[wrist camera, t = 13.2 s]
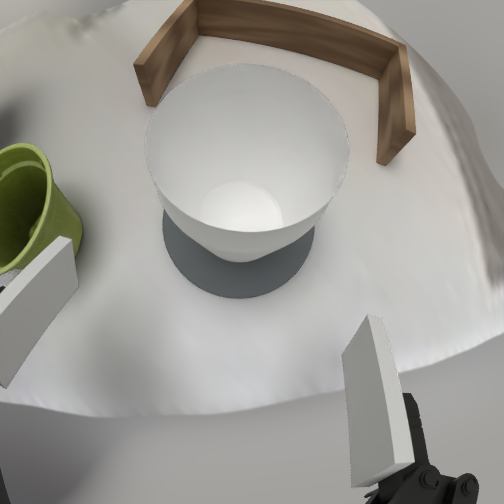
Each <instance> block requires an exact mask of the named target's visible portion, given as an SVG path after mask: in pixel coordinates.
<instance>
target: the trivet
mask: <svg viewBox="0 0 504 504" xmlns="http://www.w3.org/2000/svg"><path fill="white" fill-rule="evenodd" d="M163 236H164V241H165V245H166V248H167V251H168V253H169V255H170V257H171V259H172V261H173V262H174V264H175V265H176V267H177V268H178V269H179V270H180V272H181V273H182V274H183V275H184V276H185V277H186V278H187V279H188V280H190V281H191V282H192V283H193V284H195V285H196V286H198V287H199V288H201V289H203V290H205V291H207V292H209V293H212V294H215V295H218V296H223V297H228V298H250V297H255V296H259V295H262V294H265V293H268V292H270V291H272V290H274V289H276V288H278V287H280V286H281V285H282V284H284V283H285V282H287V281H288V280H289V279H290V278H291V277H292V276H293V275H295V274H296V272H297V271H298V270H299V269H300V267H301V266H302V265H303V263H304V261H305V260H306V258H307V256H308V253H309V251H310V249H311V245H312V242H313V236H314V226H313V227H312V228H311V229H310V230H309V231H308V232H306V233H305V234H304V235H303V236H301V237H300V238H299V239H297V240H296V241H294V242H293V243H291V244H289V245H287V246H285V247H283V248H281V249H278V250H276V251H274V252H272V253H270V254H267V255H265V256H263V257H261V258H258V259H256V260H253V261H249V262H231V261H227V260H224V259H222V258H220V257H218V256H216V255H215V254H213V253H212V252H210V251H209V250H207V249H206V248H204V247H203V246H202V245H200V244H199V243H197V242H196V241H195V240H193V239H192V238H190V237H189V236H188V235H186V234H185V233H184V232H183V231H182V230H181V229H180V228H179V227H178V226H177V225H176V224H175V223H174V222H173V221H172V219H171V218H170V217H169V215H168V214H167V212H166V211H165V209H164V214H163Z"/></svg>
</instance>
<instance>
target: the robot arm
mask: <svg viewBox="0 0 504 504" xmlns="http://www.w3.org/2000/svg"><path fill="white" fill-rule="evenodd" d="M78 287H79V284H78V279H77V272H76V266H75V259H74V252H73V244H72V239H69V238H65V237H62V236H59V237H58V238H56V239H55V240H54V241H53V242H52V243H51V244H50V245H49V246H48V247H46V248H45V249H44V250H43V251H42V252H41V253H40V254H39V255H38V256H37V257H36V258H35V259H34V260H33V261H32V262H31V263H30V264H29V265H27V266H26V267H25V268H24V269H23V270H22V271H21V272H20V273H19V274H18V275H17V276H16V277H15V279H14V280H13V281H12V282H11V283H10V284H9V285H8V286H7V287H4V286H2V287H0V386H2V387H3V388H5V389H7V387H8V386H9V384H10V382H11V381H12V379H13V378H14V376H15V374H16V373H17V371H18V370H19V368H20V367H21V365H22V364H23V362H24V361H25V359H26V358H27V356H28V355H29V353H30V352H31V350H32V349H33V347H34V346H35V344H36V343H37V342H38V340H39V339H40V337H41V336H42V335H43V333H44V332H45V330H46V329H47V328H48V326H49V325H50V324H51V322H52V321H53V320H54V318H55V317H56V316H57V314H58V313H59V312H60V310H61V309H62V308H63V306H64V305H65V304H66V303H67V301H68V300H69V299H70V297H71V296H72V295H73V294H74V292H75V291H76V290H77V289H78ZM342 362H343V371H344V381H345V391H346V402H347V414H348V427H349V442H350V464H351V487H370V486H371V485H374V484H376V483H378V487H379V488H378V489H376V490H374V491H372V492H370V493H367V494H366V495H365V496H364V497H365V498H367V497H369V496H371V497H370V498H369V500H368V501H367V502H366V503H365V504H476V502H477V497H478V492H479V484H478V481H477V479H476V477H475V476H474V475H472V474H469V473H466V474H463V475H461V476H459V477H458V478H453V477H449V476H444V475H441V474H440V472H439V470H438V469H437V468H436V467H435V466H433V465H430V463H429V460H428V455H427V449H426V444H425V438H424V433H423V428H422V427H421V426H422V423H421V419H420V418H419V417H420V414H419V410H418V405H417V403H416V402H415V400H414V398H413V396H412V395H411V393H402V390H401V386H400V382H399V377H398V373H397V369H396V365H395V361H394V357H393V353H392V349H391V346H390V342H389V338H388V335H387V331H386V328H385V324H384V321H383V317H378V316H373V315H368V314H367V316H366V317H365V319H364V321H363V322H362V324H361V326H360V327H359V329H358V330H357V332H356V334H355V335H354V337H353V338H352V340H351V341H350V343H349V345H348V346H347V348H346V349H345V351H344V352H343V354H342ZM0 504H10V501H9V498H8V495H7V491H6V488H5V484H4V481H3V477H2V473H1V469H0Z"/></svg>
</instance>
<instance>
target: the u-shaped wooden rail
mask: <svg viewBox="0 0 504 504" xmlns="http://www.w3.org/2000/svg"><path fill="white" fill-rule="evenodd" d="M199 35H206V36H215V37H222V38H229V39H235V40H242V41H247V42H253V43H258V44H263V45H268V46H272V47H277V48H281V49H285V50H289V51H293V52H297V53H301V54H305V55H308V56H312V57H315V58H319V59H322V60H325V61H328V62H332V63H335V64H338V65H341V66H344V67H347V68H349V69H352V70H355V71H358V72H361V73H363V74H366V75H368V76H371V77H374V78H376V79H379V122H378V148H377V163H380V164H382V165H385V166H386V165H387V164H388V163H389V162H390V161H391V160H392V159H393V158H394V157H395V156H396V155H397V154H398V152H399V151H400V150H401V149H402V148H403V147H404V146H405V145H406V144H407V143H408V142H409V141H410V140H411V139H412V138H413V137H414V136H415V135H416V125H415V112H414V101H413V91H412V83H411V75H410V68H409V62H408V56H407V50H406V45H404V44H402V43H400V42H397V41H395V40H393V39H390V38H388V37H386V36H383V35H381V34H379V33H376V32H374V31H371V30H368V29H366V28H363V27H360V26H358V25H355V24H352V23H349V22H346V21H343V20H340V19H337V18H334V17H331V16H327V15H324V14H320V13H317V12H313V11H309V10H306V9H302V8H298V7H293V6H289V5H284V4H280V3H275V2H269V1H264V0H184V1H183V2H182V3H181V5H180V6H179V7H178V8H177V9H176V10H175V11H174V12H173V14H172V15H171V16H170V17H169V18H168V19H167V21H166V22H165V23H164V24H163V25H162V27H161V28H160V29H159V30H158V32H157V33H156V34H155V35H154V37H153V38H152V39H151V41H150V42H149V43H148V44H147V46H146V47H145V48H144V50H143V51H142V53H141V54H140V55H139V57H138V58H137V59H136V61H135V62H134V64H133V65H134V68H135V72H136V75H137V78H138V81H139V84H140V87H141V90H142V93H143V96H144V99H145V102H146V105H147V106H154V107H156V105H157V103H158V101H159V100H160V98H161V96H162V94H163V92H164V91H165V89H166V87H167V85H168V84H169V82H170V80H171V78H172V77H173V75H174V73H175V72H176V70H177V68H178V67H179V65H180V63H181V62H182V60H183V59H184V57H185V55H186V54H187V52H188V51H189V49H190V48H191V46H192V45H193V43H194V41H195V40H196V38H197V37H198V36H199Z"/></svg>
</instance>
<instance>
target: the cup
mask: <svg viewBox="0 0 504 504" xmlns="http://www.w3.org/2000/svg"><path fill="white" fill-rule="evenodd" d="M145 154H146V160H147V164H148V168H149V171H150V174H151V176H152V179H153V181H154V184H155V186H156V189H157V192H158V195H159V199H160V201H161V203H162V205H163V207H164V209H165V211H166V212H167V214H168V215H169V217H170V218H171V219H172V221H173V222H174V223H175V224H176V225H177V226H178V227H179V228H180V229H181V230H182V231H183V232H184V233H185V234H186V235H188V236H189V237H190V238H192V239H193V240H195V241H196V242H197V243H199V244H200V245H202V246H203V247H204V248H206V249H207V250H209V251H210V252H212V253H213V254H215V255H216V256H218V257H220V258H222V259H224V260H227V261H231V262H249V261H253V260H256V259H258V258H261V257H263V256H265V255H267V254H270V253H272V252H274V251H276V250H278V249H281V248H283V247H285V246H287V245H289V244H291V243H293V242H294V241H296V240H297V239H299V238H300V237H301V236H303V235H304V234H305V233H306V232H308V231H309V230H310V229H311V228H312V227H313V226H314V225H315V224H316V223H317V221H318V220H319V219H320V218H321V216H322V214H323V213H324V211H325V210H326V207H327V206H328V204H329V202H330V201H331V199H332V198H333V196H334V195H335V193H336V192H337V190H338V189H339V187H340V185H341V184H342V181H343V179H344V177H345V174H346V171H347V167H348V162H349V142H348V136H347V133H346V129H345V126H344V124H343V121H342V119H341V117H340V116H339V114H338V112H337V111H336V109H335V108H334V106H333V105H332V104H331V102H330V101H329V100H328V99H327V98H326V97H325V96H324V95H323V94H322V93H321V92H320V91H319V90H318V89H316V88H315V87H314V86H312V85H311V84H310V83H308V82H306V81H305V80H303V79H301V78H300V77H298V76H296V75H293V74H291V73H289V72H286V71H283V70H281V69H277V68H273V67H269V66H264V65H256V64H233V65H225V66H219V67H215V68H212V69H208V70H205V71H203V72H200V73H198V74H196V75H194V76H192V77H190V78H188V79H186V80H185V81H183V82H182V83H180V84H179V85H177V86H176V87H175V88H174V89H173V90H171V91H170V92H169V93H168V94H167V95H166V96H165V98H164V99H163V100H162V101H161V102H160V104H159V105H158V106H157V108H156V110H155V112H154V113H153V115H152V118H151V120H150V122H149V125H148V128H147V133H146V140H145Z"/></svg>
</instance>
